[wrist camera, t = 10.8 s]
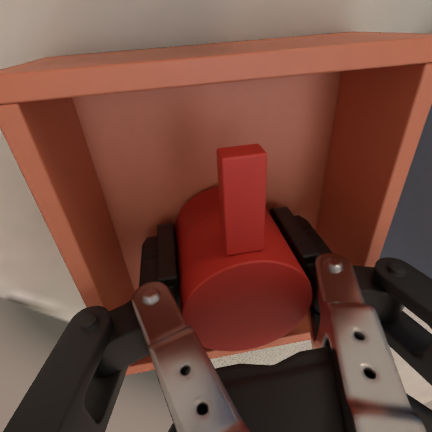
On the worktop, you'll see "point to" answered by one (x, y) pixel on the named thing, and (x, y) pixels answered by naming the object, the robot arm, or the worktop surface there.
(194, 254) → the red scoop
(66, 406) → the robot arm
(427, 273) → the blue bin
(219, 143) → the red bin
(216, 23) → the worktop surface
